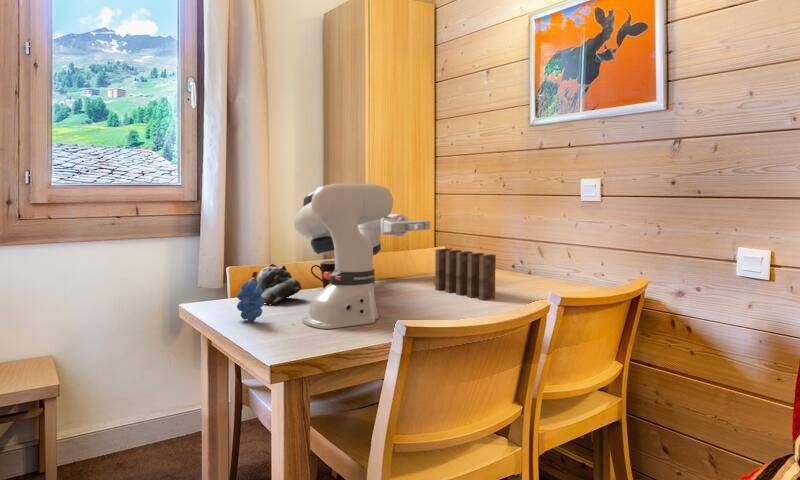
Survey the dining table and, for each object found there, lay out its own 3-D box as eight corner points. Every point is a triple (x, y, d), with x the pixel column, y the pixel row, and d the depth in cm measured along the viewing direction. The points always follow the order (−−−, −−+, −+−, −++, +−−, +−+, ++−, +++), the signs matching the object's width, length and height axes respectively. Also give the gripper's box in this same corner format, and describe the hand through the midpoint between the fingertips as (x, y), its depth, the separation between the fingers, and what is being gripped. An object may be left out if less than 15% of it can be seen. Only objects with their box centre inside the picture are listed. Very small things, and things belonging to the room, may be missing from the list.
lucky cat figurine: (264, 307, 177) (247, 267, 179) (258, 314, 188) (242, 277, 189) (307, 289, 184) (289, 251, 186) (299, 297, 195) (282, 261, 196)
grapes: (276, 322, 158) (275, 280, 157) (256, 326, 153) (255, 283, 152) (251, 316, 166) (250, 275, 165) (231, 320, 161) (230, 279, 159)
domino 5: (482, 300, 188) (483, 256, 186) (478, 299, 189) (479, 255, 188) (494, 298, 191) (495, 254, 190) (491, 297, 193) (491, 254, 191)
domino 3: (459, 295, 196) (460, 252, 195) (456, 294, 198) (456, 252, 196) (471, 293, 200) (472, 251, 198) (468, 292, 201) (468, 251, 200)
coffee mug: (348, 288, 210) (348, 261, 209) (333, 291, 203) (333, 264, 202) (324, 285, 216) (324, 259, 215) (309, 288, 209) (309, 262, 208)
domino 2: (448, 292, 201) (449, 251, 199) (445, 292, 202) (445, 250, 200) (460, 290, 204) (461, 250, 203) (457, 290, 206) (457, 249, 204)
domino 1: (438, 290, 205) (438, 250, 203) (435, 289, 206) (435, 249, 205) (450, 288, 209) (450, 248, 207) (447, 288, 210) (447, 248, 208)
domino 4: (471, 297, 192) (471, 254, 190) (467, 297, 193) (467, 254, 192) (483, 295, 196) (483, 253, 194) (479, 294, 197) (479, 252, 196)
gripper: (417, 231, 233) (440, 233, 222) (377, 234, 220) (399, 236, 210) (417, 216, 232) (440, 217, 222) (377, 218, 220) (399, 220, 209)
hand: (420, 227), depth 216 cm, fingers closed
